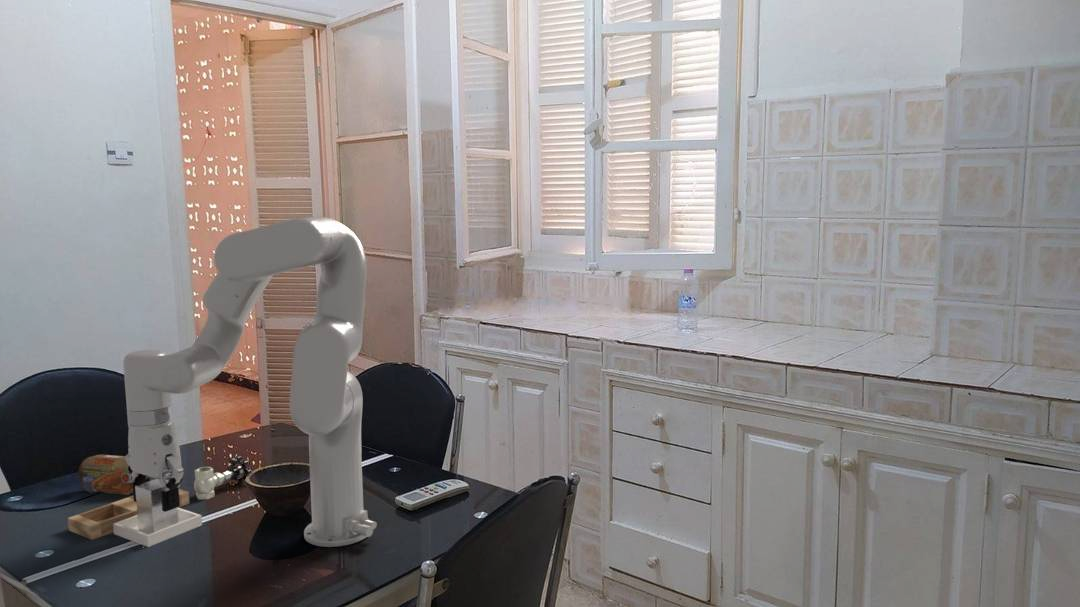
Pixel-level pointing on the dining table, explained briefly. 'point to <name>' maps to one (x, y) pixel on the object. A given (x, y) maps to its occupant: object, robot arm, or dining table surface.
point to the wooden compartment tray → (109, 516)
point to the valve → (218, 477)
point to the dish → (131, 532)
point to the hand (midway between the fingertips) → (156, 503)
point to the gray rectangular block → (153, 508)
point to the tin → (106, 474)
